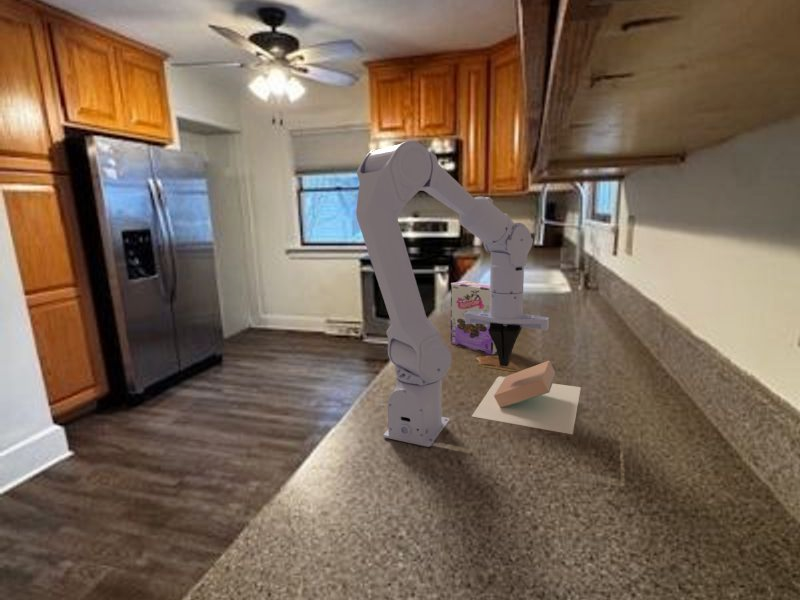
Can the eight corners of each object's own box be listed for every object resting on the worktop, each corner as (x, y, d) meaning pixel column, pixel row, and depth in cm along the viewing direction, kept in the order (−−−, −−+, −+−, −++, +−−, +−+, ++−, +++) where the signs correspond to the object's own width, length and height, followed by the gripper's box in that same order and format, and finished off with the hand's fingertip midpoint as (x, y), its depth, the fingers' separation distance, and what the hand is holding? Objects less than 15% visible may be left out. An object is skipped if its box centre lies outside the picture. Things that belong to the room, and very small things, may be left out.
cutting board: (572, 437, 69) (572, 434, 69) (471, 419, 76) (471, 416, 76) (580, 390, 87) (580, 387, 87) (498, 378, 94) (498, 376, 93)
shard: (524, 378, 95) (524, 370, 95) (490, 381, 94) (490, 373, 93) (503, 361, 105) (503, 354, 105) (472, 364, 104) (472, 357, 104)
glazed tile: (500, 409, 79) (549, 393, 74) (493, 395, 79) (541, 378, 74) (512, 388, 87) (555, 373, 83) (505, 376, 87) (549, 360, 83)
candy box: (449, 343, 119) (449, 282, 115) (464, 339, 122) (464, 279, 119) (491, 355, 108) (493, 288, 105) (506, 350, 112) (508, 285, 109)
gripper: (552, 289, 80) (548, 362, 82) (472, 285, 86) (472, 353, 89) (547, 296, 74) (543, 375, 76) (461, 291, 80) (461, 364, 82)
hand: (504, 364), depth 82 cm, fingers closed
